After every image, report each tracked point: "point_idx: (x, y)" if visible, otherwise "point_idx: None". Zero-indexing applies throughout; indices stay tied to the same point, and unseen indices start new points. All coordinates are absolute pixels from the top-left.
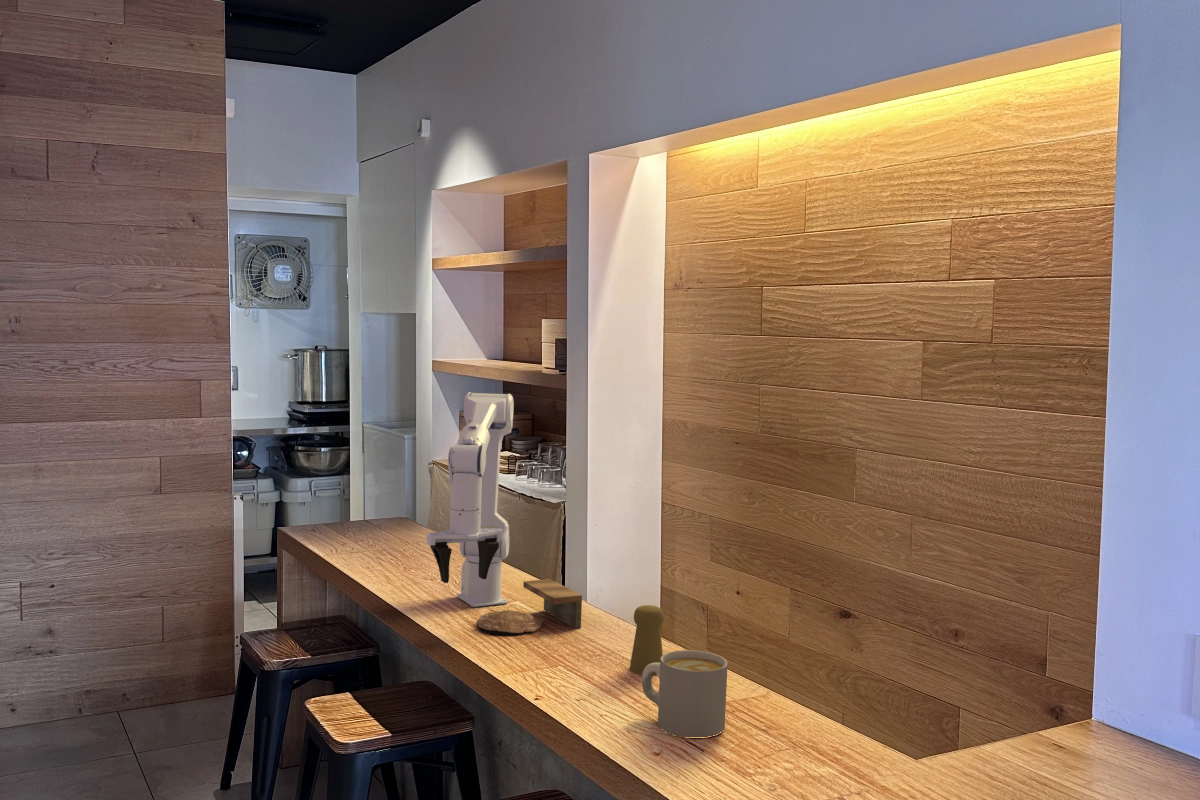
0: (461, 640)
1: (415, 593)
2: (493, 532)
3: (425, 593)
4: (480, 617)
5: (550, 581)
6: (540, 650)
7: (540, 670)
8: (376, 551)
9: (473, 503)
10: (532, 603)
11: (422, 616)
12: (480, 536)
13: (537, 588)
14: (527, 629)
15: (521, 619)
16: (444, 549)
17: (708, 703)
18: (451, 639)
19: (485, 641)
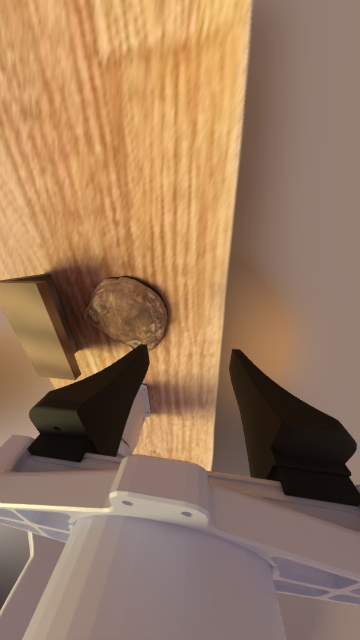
0: (205, 287)
1: (181, 433)
2: (4, 492)
3: (173, 430)
4: (157, 337)
5: (38, 366)
6: (115, 189)
7: (147, 34)
8: None
9: None
10: (85, 373)
11: (206, 382)
12: (93, 477)
13: (59, 344)
14: (111, 280)
15: (111, 294)
16: (334, 430)
17: None
18: (215, 297)
19: (177, 270)
